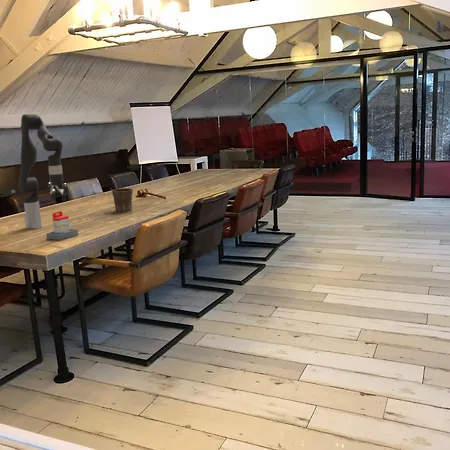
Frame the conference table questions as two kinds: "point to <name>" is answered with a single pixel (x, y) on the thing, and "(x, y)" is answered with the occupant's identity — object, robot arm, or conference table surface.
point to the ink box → (60, 223)
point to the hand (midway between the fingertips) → (58, 200)
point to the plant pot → (123, 199)
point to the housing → (62, 235)
